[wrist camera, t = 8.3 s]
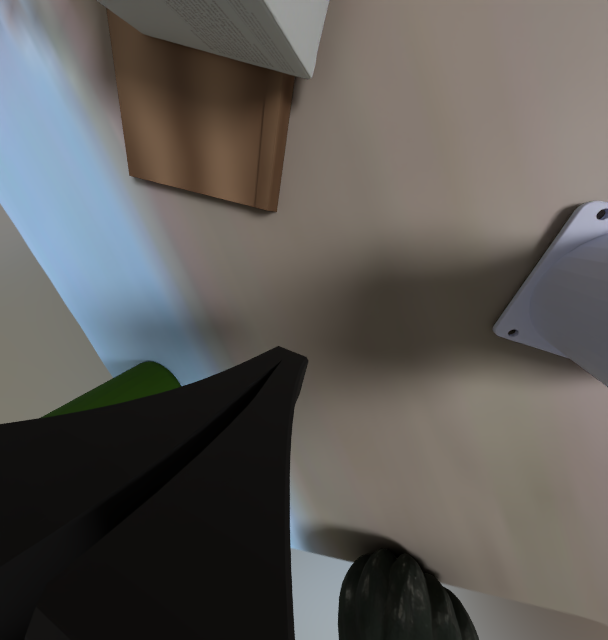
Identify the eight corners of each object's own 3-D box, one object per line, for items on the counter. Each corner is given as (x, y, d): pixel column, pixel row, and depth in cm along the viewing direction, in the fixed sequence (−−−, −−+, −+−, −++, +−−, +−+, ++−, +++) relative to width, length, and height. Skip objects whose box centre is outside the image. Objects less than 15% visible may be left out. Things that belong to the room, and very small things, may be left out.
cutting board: (357, -393, 8) (350, -513, 7) (276, 211, 17) (267, 210, 16) (90, -279, 11) (50, -346, 10) (142, 178, 20) (125, 174, 19)
